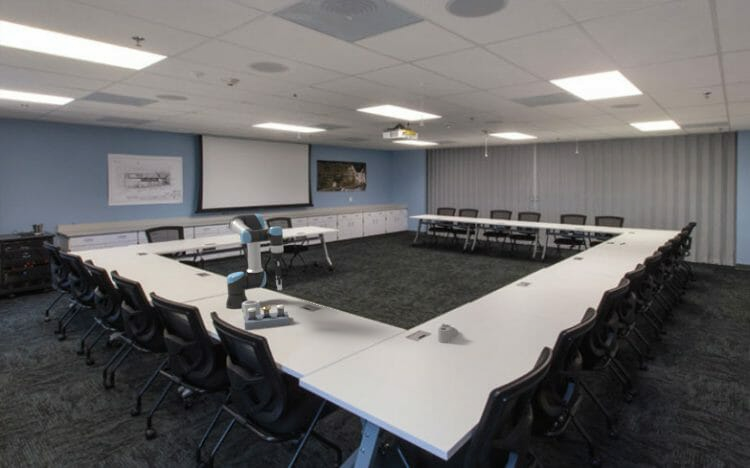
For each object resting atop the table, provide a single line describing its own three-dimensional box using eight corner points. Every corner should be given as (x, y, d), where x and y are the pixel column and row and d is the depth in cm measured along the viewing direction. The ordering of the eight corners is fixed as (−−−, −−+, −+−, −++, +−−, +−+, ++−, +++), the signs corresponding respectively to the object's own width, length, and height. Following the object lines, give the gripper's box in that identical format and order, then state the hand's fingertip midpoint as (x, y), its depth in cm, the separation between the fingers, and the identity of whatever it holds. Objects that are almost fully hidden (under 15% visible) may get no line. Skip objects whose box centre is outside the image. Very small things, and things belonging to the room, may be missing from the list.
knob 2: (276, 314, 259) (276, 305, 258) (284, 313, 260) (284, 304, 260) (277, 317, 254) (276, 307, 253) (285, 316, 256) (284, 306, 255)
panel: (245, 322, 258) (245, 316, 258) (287, 317, 266) (287, 311, 265) (245, 329, 245) (244, 323, 245) (289, 324, 252) (289, 318, 252)
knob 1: (248, 317, 254) (247, 308, 253) (256, 316, 256) (256, 307, 255) (248, 320, 249) (247, 310, 249) (256, 319, 251) (256, 309, 250)
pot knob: (262, 316, 257) (261, 306, 256) (270, 315, 258) (270, 305, 257) (262, 318, 252) (262, 308, 251) (271, 317, 253) (270, 307, 252)
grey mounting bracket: (459, 333, 231) (459, 319, 230) (446, 344, 216) (446, 329, 215) (449, 331, 234) (449, 317, 233) (436, 342, 219) (436, 327, 218)
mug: (264, 315, 272) (263, 300, 271) (252, 320, 262) (251, 304, 261) (248, 312, 277) (247, 298, 276) (236, 317, 268) (235, 302, 267)
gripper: (270, 249, 262) (272, 284, 265) (271, 255, 241) (273, 292, 243) (282, 248, 264) (284, 283, 267) (284, 254, 243) (286, 291, 245)
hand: (279, 287), depth 255 cm, fingers open, 10 cm apart
